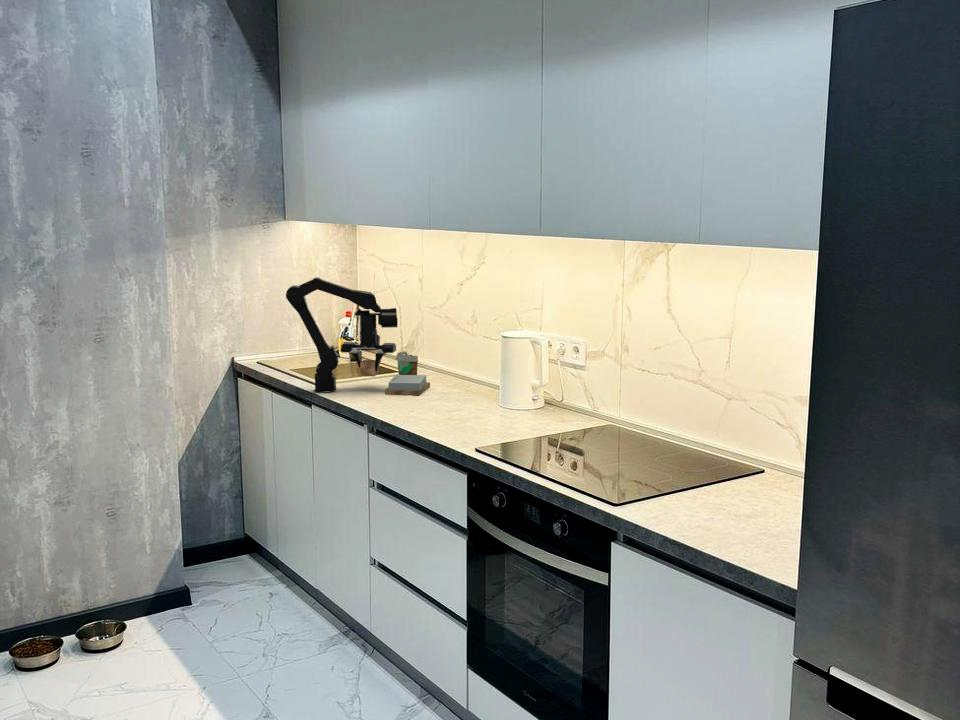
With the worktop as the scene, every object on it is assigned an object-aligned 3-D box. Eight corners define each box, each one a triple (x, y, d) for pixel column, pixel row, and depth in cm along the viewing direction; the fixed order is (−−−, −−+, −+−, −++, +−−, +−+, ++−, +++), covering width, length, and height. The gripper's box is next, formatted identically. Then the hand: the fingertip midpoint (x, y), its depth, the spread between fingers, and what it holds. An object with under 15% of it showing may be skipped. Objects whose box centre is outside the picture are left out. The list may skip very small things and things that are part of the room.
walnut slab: (384, 396, 340) (384, 389, 340) (397, 387, 356) (397, 381, 355) (418, 398, 338) (418, 391, 338) (429, 389, 353) (429, 382, 353)
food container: (391, 378, 370) (390, 352, 369) (406, 377, 373) (406, 351, 371) (402, 383, 359) (402, 357, 358) (418, 382, 362) (418, 355, 360)
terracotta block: (360, 376, 346) (360, 362, 345) (363, 373, 350) (363, 359, 350) (374, 376, 345) (374, 362, 344) (377, 373, 350) (377, 360, 349)
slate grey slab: (388, 389, 340) (388, 382, 339) (396, 381, 354) (395, 374, 354) (420, 390, 339) (420, 383, 338) (426, 382, 353) (426, 375, 353)
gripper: (399, 325, 352) (399, 368, 354) (348, 324, 354) (349, 367, 356) (392, 329, 341) (393, 373, 343) (340, 328, 343) (341, 372, 346)
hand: (369, 371), depth 347 cm, fingers closed on terracotta block, 5 cm apart
